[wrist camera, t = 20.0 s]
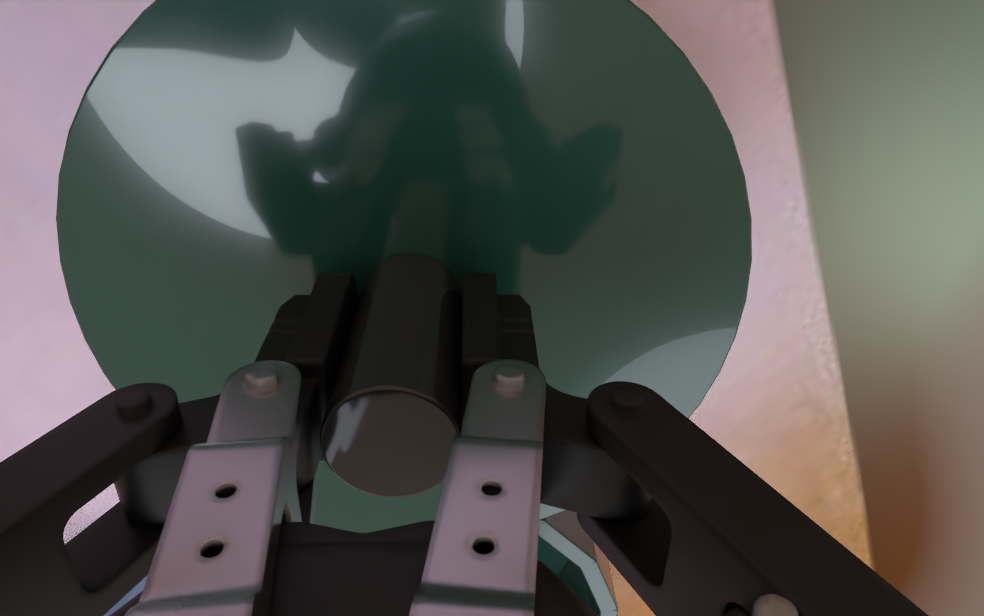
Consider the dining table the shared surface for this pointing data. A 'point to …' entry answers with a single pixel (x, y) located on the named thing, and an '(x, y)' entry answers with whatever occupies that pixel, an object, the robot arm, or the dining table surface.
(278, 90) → the lid
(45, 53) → the dining table surface
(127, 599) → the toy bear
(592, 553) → the pot
